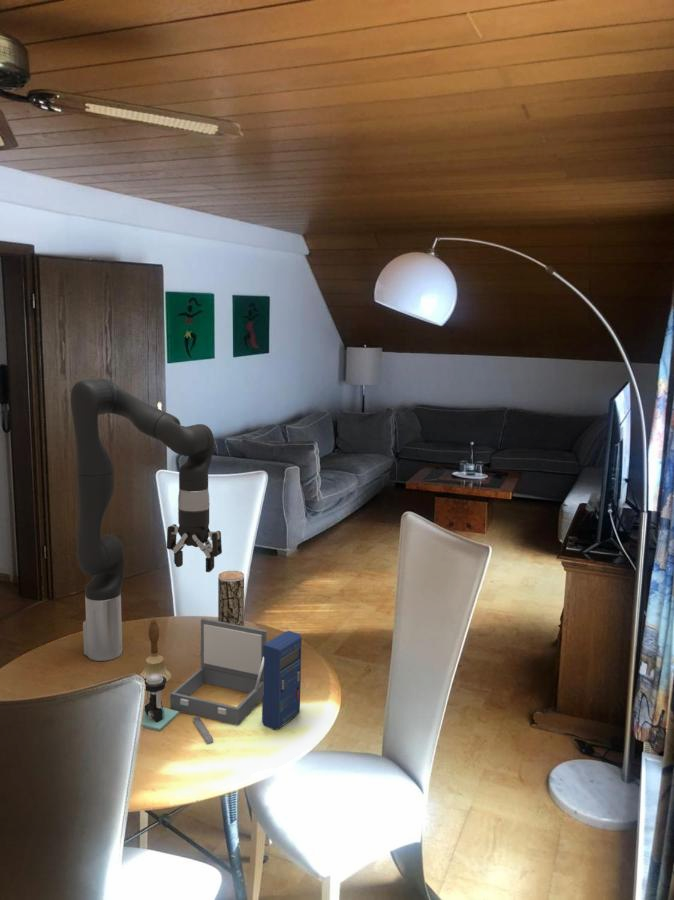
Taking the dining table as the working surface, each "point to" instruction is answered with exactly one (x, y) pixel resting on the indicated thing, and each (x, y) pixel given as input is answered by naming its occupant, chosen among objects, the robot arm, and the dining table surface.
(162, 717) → the push button
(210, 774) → the dining table surface
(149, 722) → the pad
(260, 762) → the dining table surface
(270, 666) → the electronic device
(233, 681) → the case
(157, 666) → the hand bell
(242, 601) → the brown bark-textured cylinder
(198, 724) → the rod
